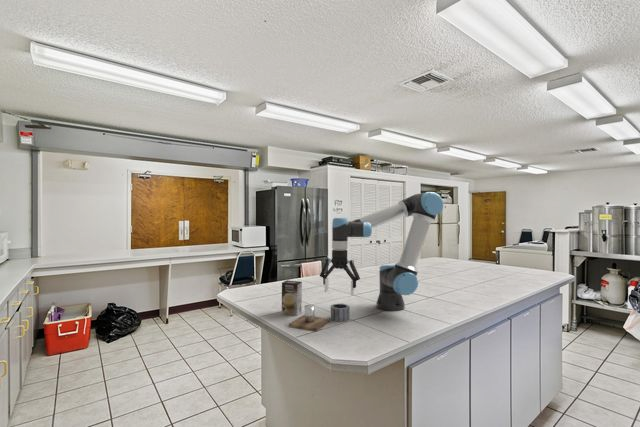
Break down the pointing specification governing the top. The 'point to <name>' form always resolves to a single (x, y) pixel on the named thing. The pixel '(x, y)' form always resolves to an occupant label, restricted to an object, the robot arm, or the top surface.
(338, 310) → the grey ribbed cylinder
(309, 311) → the post
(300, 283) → the coffee box
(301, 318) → the base
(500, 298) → the top surface
